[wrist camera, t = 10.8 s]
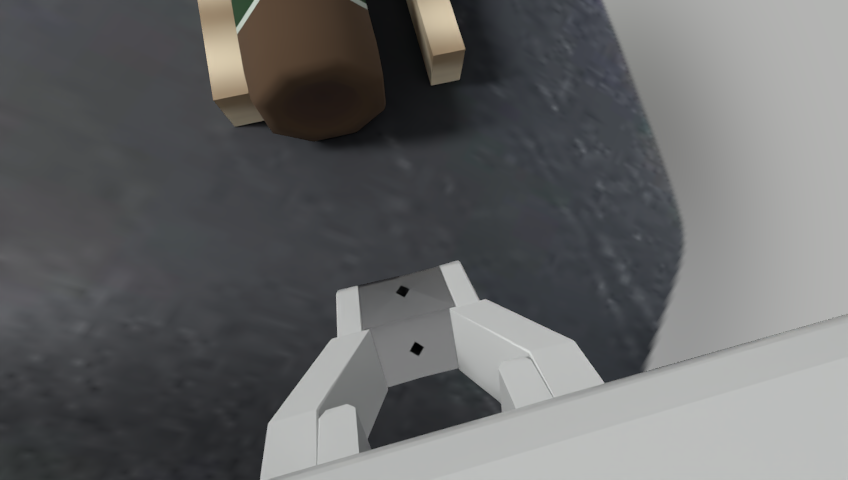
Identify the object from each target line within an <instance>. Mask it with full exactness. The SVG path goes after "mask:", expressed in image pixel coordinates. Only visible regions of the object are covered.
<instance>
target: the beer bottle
mask: <svg viewBox="0 0 848 480" xmlns="http://www.w3.org/2000/svg"><path fill="white" fill-rule="evenodd" d="M231 3H232V9H233V14H234V20H235V26H236V31H237V37H238V43H239V48H240V54H241V59H242V65H243V71H244V75H245V79H246V83H247V87H248V91H249V95H250V99H251V101H252V103H253V104H254V106H255V107H256V109H257V110H258V112H259V113H260V115H261V116H262V118H263V119H264V121H265V122H266V124H267V125H268V127H269V128H270V130H271V131H272V132H273V133H276V134H280V135H285V136H290V137H295V138H300V139H304V140H309V141H319V140H323V139H328V138H333V137H337V136H342V135H346V134H351V133H356V132H358V131H359V130H360V129H361V128H363V127H364V126H365V125H366V124H367V123H369V122H370V121H371V120H372V119H374V118H375V117H376V116H377V115H378V114H380V113H381V112H382V111H383V110H385V106H386V99H385V89H384V80H383V72H382V67H381V62H380V57H379V52H378V47H377V42H376V39H375V35H374V31H373V27H372V24H371V20H370V16H369V12H368V9H367V5H366V1H365V0H231Z"/></svg>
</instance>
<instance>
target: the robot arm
mask: <svg viewBox="0 0 848 480" xmlns="http://www.w3.org/2000/svg"><path fill="white" fill-rule="evenodd" d="M336 305H337V338H333V339H331V340H330V341H329V343H328V344H327V345H326V347H325V348H324V349H323V351H322V352H321V353H320V355H319V356H318V357H317V359H316V360H315V361H314V363H313V364H312V365H311V367H310V368H309V369H308V371H307V372H306V373H305V375H304V376H303V377H302V379H301V380H300V382H299V383H298V384H297V386H296V387H295V388H294V390H293V391H292V392H291V394H290V395H289V396H288V398H287V399H286V400H285V402H284V403H283V404H282V406H281V407H280V408H279V410H278V411H277V412H276V414H275V415H274V416H273V418H272V419H271V420H270V422H269V423H268V427H267V434H266V441H265V448H264V455H263V462H262V469H261V476H260V480H848V314H846V315H842V316H839V317H836V318H832V319H828V320H825V321H822V322H818V323H814V324H811V325H807V326H804V327H801V328H797V329H793V330H790V331H786V332H783V333H779V334H776V335H772V336H769V337H766V338H762V339H758V340H755V341H751V342H748V343H744V344H741V345H737V346H734V347H730V348H727V349H723V350H720V351H716V352H713V353H709V354H705V355H702V356H698V357H695V358H691V359H688V360H684V361H681V362H677V363H674V364H670V365H667V366H663V367H660V368H656V369H653V370H649V371H646V372H642V373H639V374H635V375H632V376H628V377H625V378H621V379H618V380H614V381H611V382H607V383H604V382H603V380H602V379H601V378H600V376H599V375H598V373H597V372H596V371H595V369H594V368H593V366H592V365H591V364H590V362H589V361H588V359H587V358H586V357H585V355H584V354H583V352H582V351H581V350H580V348H579V347H578V345H577V344H576V343H575V341H573V340H571V339H569V338H567V337H565V336H563V335H561V334H559V333H556V332H554V331H552V330H550V329H548V328H546V327H544V326H542V325H540V324H537V323H535V322H533V321H531V320H529V319H527V318H525V317H523V316H521V315H518V314H516V313H514V312H512V311H510V310H508V309H506V308H504V307H502V306H499V305H497V304H495V303H493V302H491V301H489V300H487V299H484V300H479V298H478V296H477V294H476V292H475V290H474V288H473V286H472V284H471V282H470V280H469V278H468V276H467V274H466V272H465V270H464V268H463V266H462V264H461V262H459V261H458V260H457V261H454V262H450V263H447V264H443V265H440V266H438V267H434V268H431V269H427V270H423V271H419V272H415V273H411V274H407V275H403V276H398V277H393V278H389V279H384V280H380V281H375V282H371V283H367V284H362V285H359V286H354V287H350V288H346V289H342V290H338V291H337V294H336ZM457 368H459V370H460V371H462V372H463V373H464V374H465V375H467V376H468V377H469V378H470V379H472V380H473V381H474V382H475V383H476V384H478V385H479V386H480V387H481V388H483V389H484V390H485V391H486V392H488V393H489V394H490V395H491V396H493V397H494V398H495V399H496V400H498V401H499V402H500V403H501V407H502V413H498V414H495V415H491V416H488V417H484V418H481V419H477V420H474V421H470V422H466V423H463V424H459V425H456V426H452V427H449V428H445V429H442V430H438V431H435V432H431V433H428V434H424V435H421V436H417V437H414V438H410V439H407V440H403V441H400V442H396V443H393V444H389V445H386V446H382V447H379V448H375V449H372V450H371V447H370V445H369V442H368V437H369V434H370V432H371V429H372V427H373V425H374V422H375V420H376V417H377V415H378V413H379V410H380V408H381V406H382V403H383V401H384V398H385V396H386V394H387V391H388V387H391V386H394V385H397V384H401V383H404V382H407V381H411V380H414V379H417V378H421V377H424V376H428V375H433V374H437V373H441V372H445V371H449V370H453V369H457Z"/></svg>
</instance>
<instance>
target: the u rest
mask: <svg viewBox="0 0 848 480" xmlns="http://www.w3.org/2000/svg"><path fill="white" fill-rule="evenodd" d="M406 2H407V6H408V9H409V12H410V16H411V19H412V23H413V26H414V29H415V33H416V36H417V40H418V43H419V46H420V50H421V53H422V57H423V60H424V64H425V67H426V70H427V74H428V77H429V81H430V84H431V86H432V85H437V84H442V83H446V82H451V81H456V80H460V76H461V70H462V65H463V60H464V54H465V46H464V43H463V40H462V37H461V34H460V31H459V28H458V25H457V22H456V18H455V15H454V12H453V9H452V6H451V3H450V0H406ZM198 5H199V12H200V18H201V25H202V31H203V37H204V44H205V50H206V57H207V63H208V69H209V76H210V82H211V88H212V95H213V101H214V102H215V103H216V104H217V105H218V107H219V108H220V109H221V110H222V111H223V113H224V114H225V115H226V116H227V118H228V119H229V120H230V121H231V122H232V124H233V125H234V126H235V127H236V126H241V125H246V124H250V123H255V122H260V121H264V119H263V118H262V116H261V115H260V113H259V112H258V110H257V109H256V107H255V106H254V104H253V103H252V101H251V99H250V95H249V91H248V87H247V83H246V79H245V75H244V71H243V65H242V59H241V54H240V48H239V43H238V37H237V31H236V26H235V20H234V14H233V9H232V3H231V0H198Z"/></svg>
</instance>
